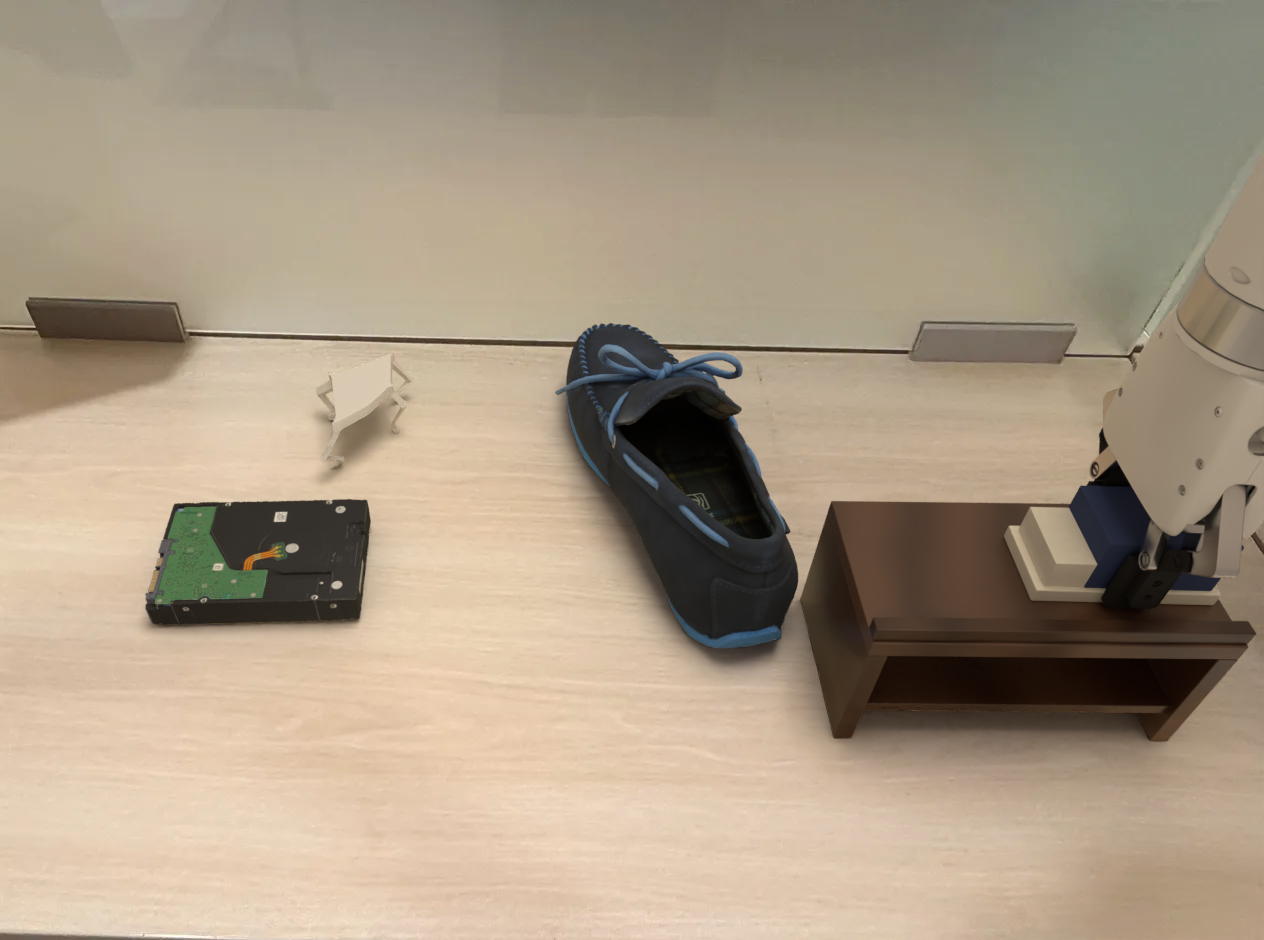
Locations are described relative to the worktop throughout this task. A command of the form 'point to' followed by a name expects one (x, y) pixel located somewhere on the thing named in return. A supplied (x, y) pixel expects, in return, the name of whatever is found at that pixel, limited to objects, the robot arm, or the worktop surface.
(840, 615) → the shoe shelf
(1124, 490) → the navy box on tray
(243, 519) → the disk drive
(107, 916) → the worktop surface
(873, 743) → the worktop surface
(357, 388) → the cream bent-legged table
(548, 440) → the worktop surface
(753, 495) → the moccasin
